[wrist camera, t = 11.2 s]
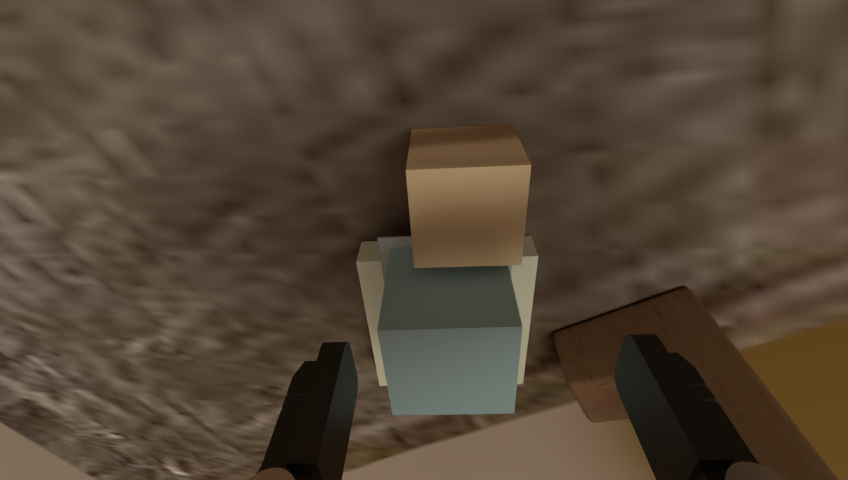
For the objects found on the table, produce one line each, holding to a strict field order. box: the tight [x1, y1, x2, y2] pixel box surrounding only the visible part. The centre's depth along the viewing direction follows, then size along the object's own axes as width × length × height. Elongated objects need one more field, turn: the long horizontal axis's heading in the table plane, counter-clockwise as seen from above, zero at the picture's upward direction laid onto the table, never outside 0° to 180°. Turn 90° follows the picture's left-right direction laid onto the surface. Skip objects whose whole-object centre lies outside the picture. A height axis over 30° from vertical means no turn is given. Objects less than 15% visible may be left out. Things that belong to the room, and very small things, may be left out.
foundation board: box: [356, 236, 538, 386], centre depth 26 cm, size 13×10×2 cm
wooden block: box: [553, 288, 839, 480], centre depth 21 cm, size 9×4×18 cm, turn 120°
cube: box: [377, 247, 523, 415], centre depth 21 cm, size 6×6×6 cm
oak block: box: [406, 124, 531, 268], centre depth 20 cm, size 5×5×5 cm
